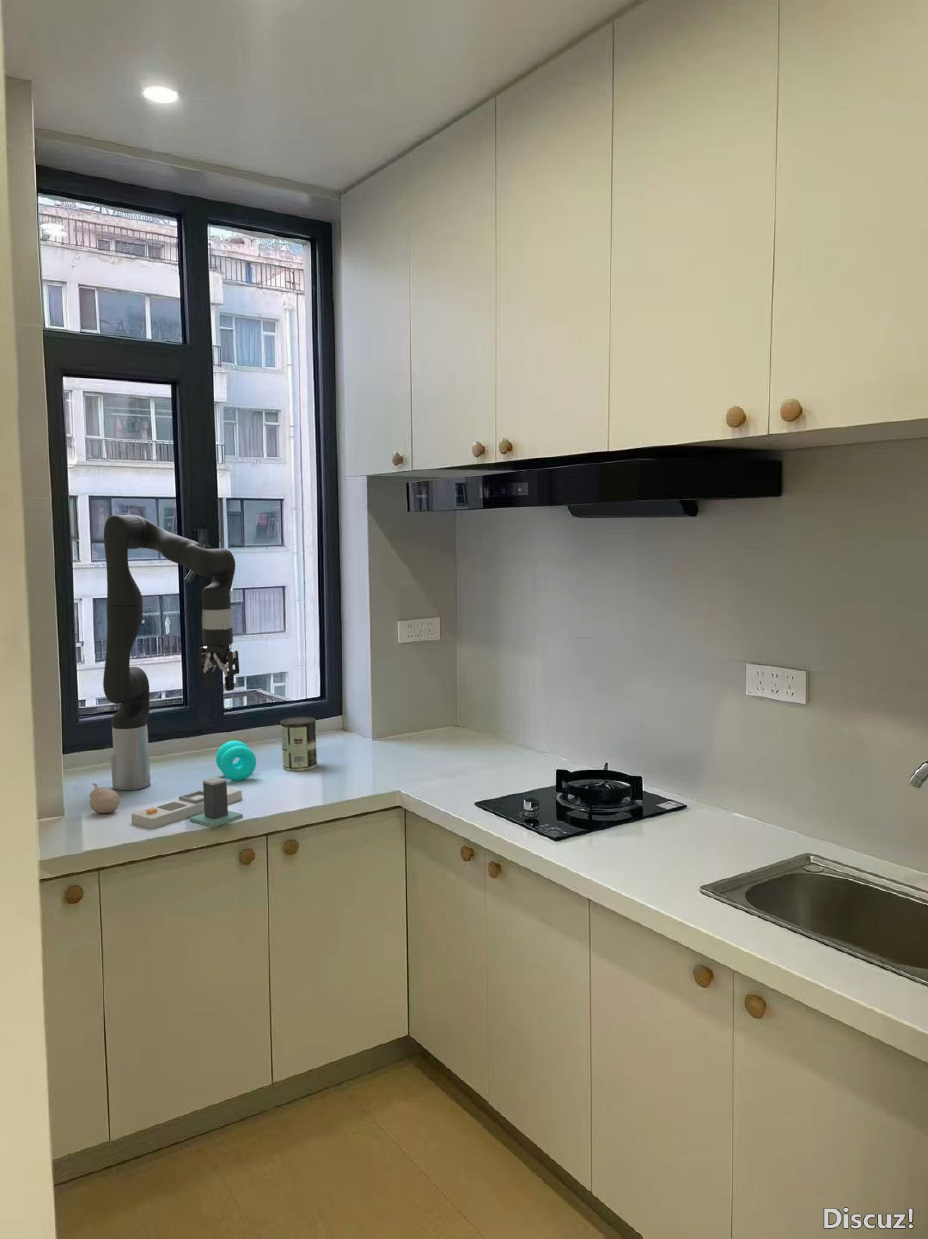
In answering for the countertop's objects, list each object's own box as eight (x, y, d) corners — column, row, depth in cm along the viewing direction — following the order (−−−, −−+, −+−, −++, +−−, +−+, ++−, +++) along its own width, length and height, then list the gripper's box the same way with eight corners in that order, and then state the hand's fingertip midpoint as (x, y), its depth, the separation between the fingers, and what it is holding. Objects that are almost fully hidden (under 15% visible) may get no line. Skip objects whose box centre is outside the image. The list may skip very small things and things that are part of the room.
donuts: (222, 784, 263) (220, 749, 262) (216, 775, 272) (214, 741, 271) (257, 779, 267) (256, 745, 266) (250, 771, 276) (249, 737, 275)
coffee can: (308, 760, 288) (306, 715, 286) (323, 767, 279) (321, 720, 278) (276, 765, 282) (274, 719, 280) (290, 773, 273) (289, 725, 272)
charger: (214, 819, 229) (212, 783, 228) (204, 816, 232) (202, 780, 231) (228, 815, 232) (226, 779, 231) (218, 812, 235) (216, 776, 234)
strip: (152, 828, 226) (151, 815, 225) (131, 823, 230) (131, 810, 230) (242, 799, 248) (241, 787, 248) (221, 794, 253) (221, 783, 252)
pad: (213, 827, 226) (213, 823, 226) (189, 820, 231) (189, 817, 231) (242, 817, 233) (242, 814, 233) (218, 811, 238) (218, 808, 238)
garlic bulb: (110, 807, 243) (109, 777, 242) (124, 812, 239) (122, 781, 238) (86, 814, 238) (84, 783, 237) (100, 818, 234) (98, 787, 233)
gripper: (189, 626, 244) (191, 687, 246) (221, 629, 235) (223, 693, 236) (213, 623, 250) (216, 683, 251) (246, 626, 240) (248, 689, 242)
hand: (219, 688), depth 244 cm, fingers open, 8 cm apart
